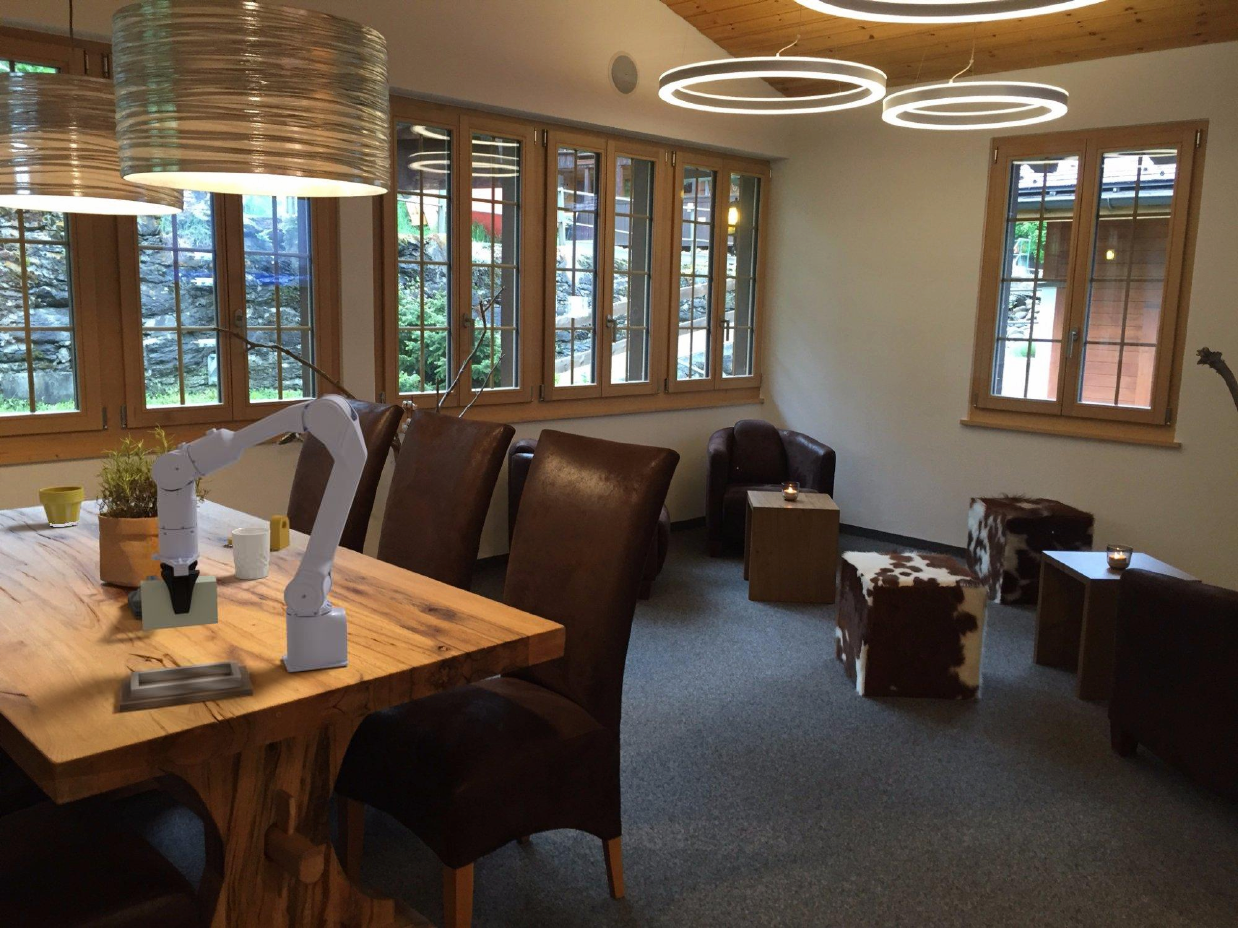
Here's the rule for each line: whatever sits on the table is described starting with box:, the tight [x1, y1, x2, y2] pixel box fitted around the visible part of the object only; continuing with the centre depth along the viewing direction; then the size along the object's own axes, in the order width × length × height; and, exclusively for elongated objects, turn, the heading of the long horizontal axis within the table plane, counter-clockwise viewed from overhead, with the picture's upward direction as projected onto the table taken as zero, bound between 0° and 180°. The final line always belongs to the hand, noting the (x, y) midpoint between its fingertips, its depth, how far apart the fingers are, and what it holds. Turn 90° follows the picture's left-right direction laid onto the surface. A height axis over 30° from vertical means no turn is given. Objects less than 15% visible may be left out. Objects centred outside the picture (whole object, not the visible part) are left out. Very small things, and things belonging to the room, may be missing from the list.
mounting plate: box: [119, 660, 254, 712], centre depth 154 cm, size 18×11×2 cm, turn 115°
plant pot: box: [38, 485, 85, 524], centre depth 268 cm, size 10×10×10 cm
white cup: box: [231, 526, 271, 581], centre depth 222 cm, size 8×8×10 cm
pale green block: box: [140, 574, 219, 632], centre depth 164 cm, size 11×4×7 cm, turn 115°
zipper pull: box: [126, 574, 159, 620], centre depth 191 cm, size 9×7×25 cm
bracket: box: [227, 515, 291, 551], centre depth 249 cm, size 15×4×8 cm, turn 77°
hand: (181, 609), depth 164 cm, fingers closed on pale green block, 4 cm apart
